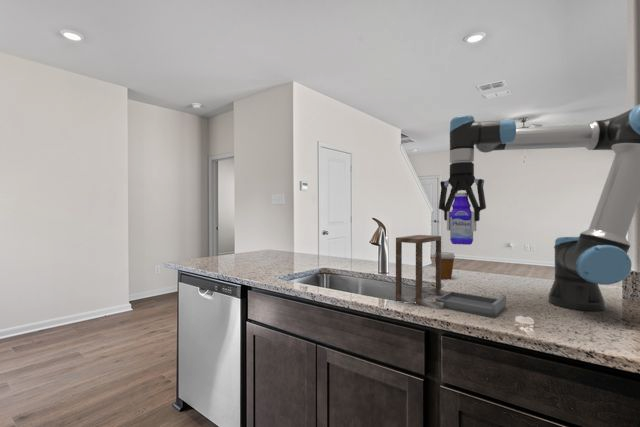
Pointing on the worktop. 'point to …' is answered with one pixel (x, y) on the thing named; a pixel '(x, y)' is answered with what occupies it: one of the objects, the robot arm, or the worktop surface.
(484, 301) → the tray
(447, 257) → the disposable coffee cup
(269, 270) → the worktop surface
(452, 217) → the bottle
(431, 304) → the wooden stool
